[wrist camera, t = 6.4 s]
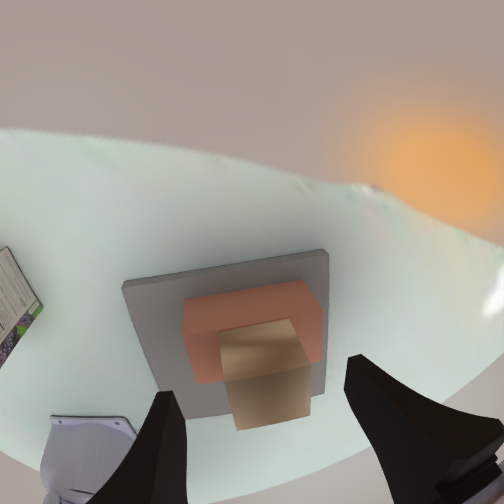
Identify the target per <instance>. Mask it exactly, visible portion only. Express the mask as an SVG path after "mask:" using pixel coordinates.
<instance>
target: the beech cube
mask: <svg viewBox="0 0 504 504" xmlns="http://www.w3.org/2000/svg"><path fill="white" fill-rule="evenodd" d="M218 337H219V345H220V353H221V361H222V369H223V376H224V383H225V387H226V391H227V395H228V399H229V403H230V407H231V410H232V414H233V418H234V422H235V425H236V429H237V431H238V430H244V429H250V428H256V427H261V426H266V425H271V424H276V423H280V422H285V421H289V420H293V419H298V418H302V417H306V416H309V415H310V402H311V363H310V361H309V359H308V357H307V355H306V353H305V351H304V349H303V347H302V345H301V342H300V340H299V338H298V336H297V334H296V332H295V330H294V328H293V326H292V324H291V322H290V320H289V319H284V320H279V321H274V322H269V323H263V324H258V325H252V326H247V327H241V328H236V329H230V330H224V331H218Z"/></svg>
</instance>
